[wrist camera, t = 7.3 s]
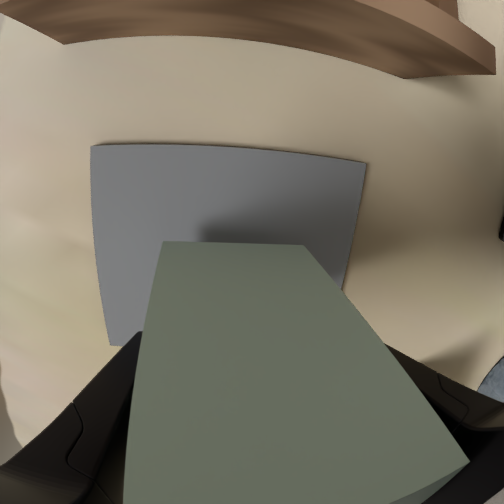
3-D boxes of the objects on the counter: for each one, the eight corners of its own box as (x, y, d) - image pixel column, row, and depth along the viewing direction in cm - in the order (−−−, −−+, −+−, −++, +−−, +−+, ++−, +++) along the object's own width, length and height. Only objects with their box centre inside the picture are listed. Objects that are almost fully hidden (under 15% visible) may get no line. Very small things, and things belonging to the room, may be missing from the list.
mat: (361, 161, 13) (366, 163, 13) (323, 336, 17) (326, 341, 17) (94, 145, 11) (90, 146, 11) (111, 339, 15) (110, 345, 14)
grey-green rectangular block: (303, 245, 12) (469, 461, 3) (292, 308, 13) (398, 519, 4) (162, 241, 11) (122, 537, 2) (164, 308, 12) (158, 563, 3)
